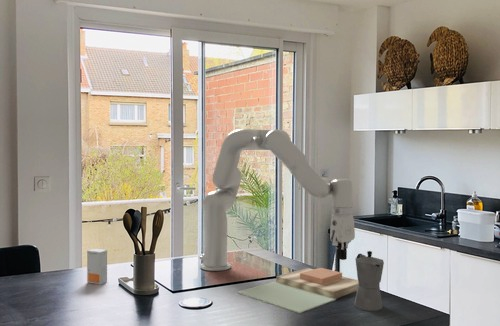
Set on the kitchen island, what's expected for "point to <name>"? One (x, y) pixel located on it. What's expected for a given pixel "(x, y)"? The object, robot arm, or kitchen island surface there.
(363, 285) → the coffeepot
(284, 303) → the sage mat
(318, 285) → the board
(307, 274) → the terracotta tile
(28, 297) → the kitchen island surface
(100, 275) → the skincare box
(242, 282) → the kitchen island surface
